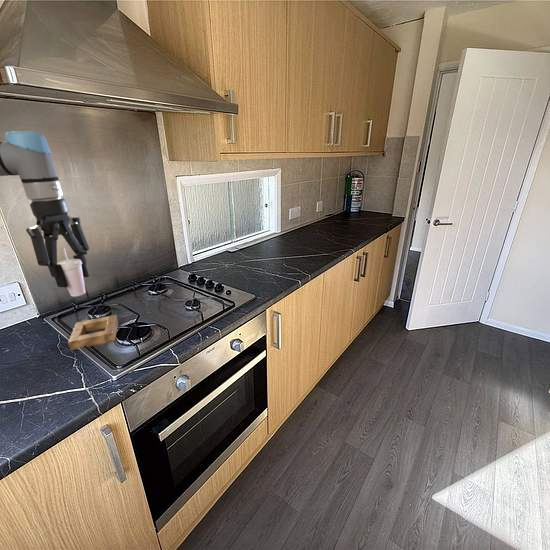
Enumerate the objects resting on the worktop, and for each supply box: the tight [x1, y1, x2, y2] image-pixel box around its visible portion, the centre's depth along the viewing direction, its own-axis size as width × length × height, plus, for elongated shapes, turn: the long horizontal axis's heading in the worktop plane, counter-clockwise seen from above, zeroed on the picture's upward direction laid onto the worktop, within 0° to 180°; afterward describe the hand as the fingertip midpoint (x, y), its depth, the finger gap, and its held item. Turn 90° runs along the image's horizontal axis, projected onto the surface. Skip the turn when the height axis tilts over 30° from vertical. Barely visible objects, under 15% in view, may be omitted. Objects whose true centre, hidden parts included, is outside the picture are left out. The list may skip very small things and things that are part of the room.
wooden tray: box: [67, 314, 119, 351], centre depth 95 cm, size 12×12×3 cm
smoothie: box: [57, 247, 87, 297], centre depth 82 cm, size 6×6×14 cm
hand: (74, 281), depth 84 cm, fingers closed on smoothie, 6 cm apart
